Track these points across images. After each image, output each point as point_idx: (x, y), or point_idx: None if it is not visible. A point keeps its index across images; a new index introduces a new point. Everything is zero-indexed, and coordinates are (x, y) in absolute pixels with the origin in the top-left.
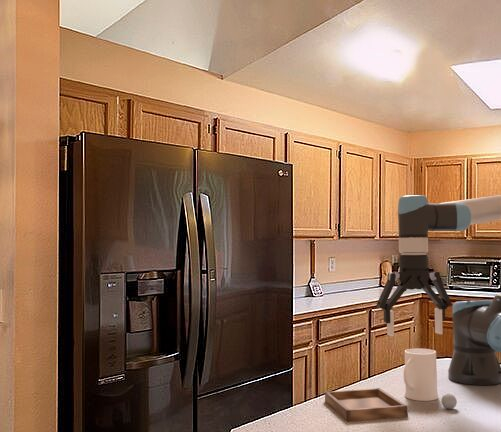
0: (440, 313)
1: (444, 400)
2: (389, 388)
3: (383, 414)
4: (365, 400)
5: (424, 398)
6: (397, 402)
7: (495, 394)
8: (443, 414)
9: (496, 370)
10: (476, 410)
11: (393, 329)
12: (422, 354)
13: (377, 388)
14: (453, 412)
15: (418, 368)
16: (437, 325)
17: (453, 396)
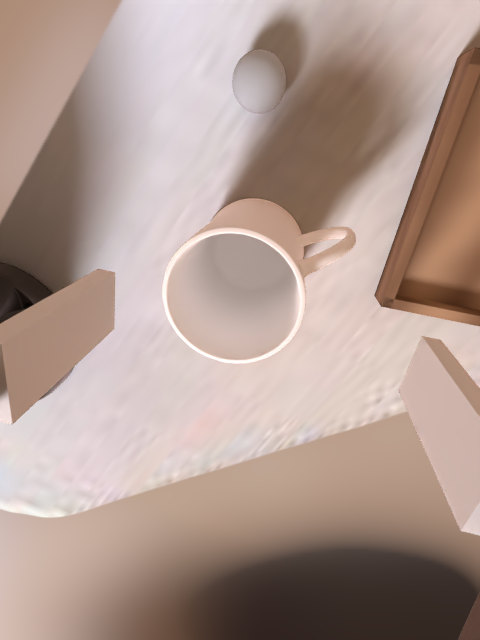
0: (19, 326)
1: (284, 72)
2: (281, 361)
3: None
4: (465, 262)
5: (275, 205)
6: (459, 124)
7: (30, 173)
8: (325, 28)
9: None
10: (189, 24)
11: (442, 358)
12: (267, 237)
13: (389, 305)
14: (277, 37)
15: (286, 235)
16: (88, 320)
17: (248, 60)
